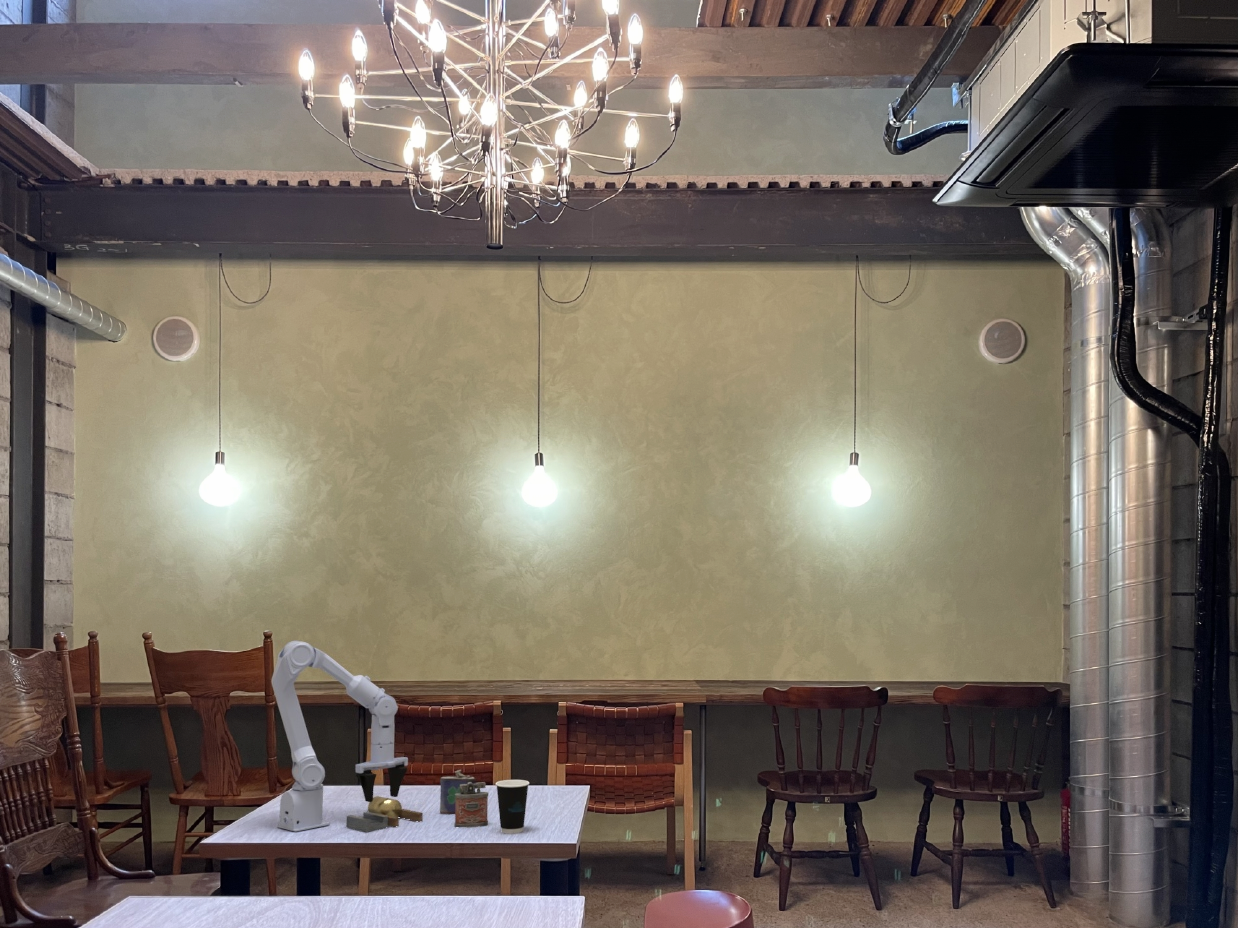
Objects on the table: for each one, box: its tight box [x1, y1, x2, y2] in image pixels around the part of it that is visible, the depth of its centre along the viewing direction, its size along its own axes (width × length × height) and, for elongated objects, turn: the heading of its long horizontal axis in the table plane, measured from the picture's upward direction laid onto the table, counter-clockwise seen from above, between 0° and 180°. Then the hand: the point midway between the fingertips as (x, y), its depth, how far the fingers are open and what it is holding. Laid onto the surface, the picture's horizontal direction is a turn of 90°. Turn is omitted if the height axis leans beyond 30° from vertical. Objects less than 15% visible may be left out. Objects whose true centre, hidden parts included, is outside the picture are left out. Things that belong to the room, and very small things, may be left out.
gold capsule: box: [367, 795, 403, 818], centre depth 250 cm, size 7×5×5 cm
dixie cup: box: [495, 779, 530, 835], centre depth 235 cm, size 8×8×11 cm
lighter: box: [454, 781, 489, 828], centre depth 241 cm, size 8×3×10 cm, turn 105°
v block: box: [345, 811, 389, 833], centre depth 239 cm, size 6×8×3 cm
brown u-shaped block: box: [378, 808, 424, 828], centre depth 245 cm, size 8×8×2 cm
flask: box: [439, 769, 476, 815], centre depth 255 cm, size 9×3×11 cm, turn 79°
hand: (381, 798), depth 250 cm, fingers open, 7 cm apart
